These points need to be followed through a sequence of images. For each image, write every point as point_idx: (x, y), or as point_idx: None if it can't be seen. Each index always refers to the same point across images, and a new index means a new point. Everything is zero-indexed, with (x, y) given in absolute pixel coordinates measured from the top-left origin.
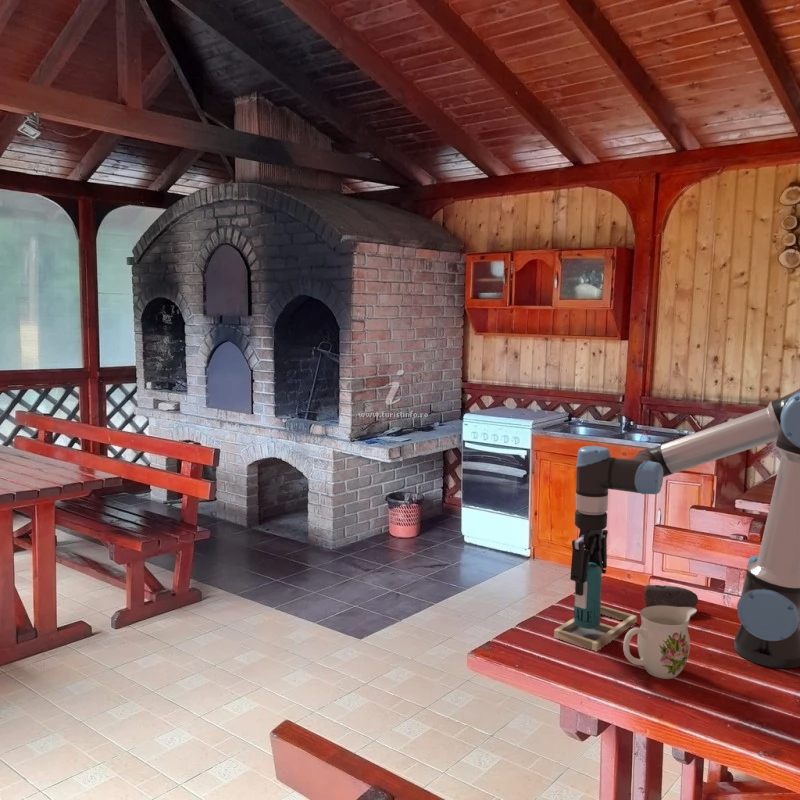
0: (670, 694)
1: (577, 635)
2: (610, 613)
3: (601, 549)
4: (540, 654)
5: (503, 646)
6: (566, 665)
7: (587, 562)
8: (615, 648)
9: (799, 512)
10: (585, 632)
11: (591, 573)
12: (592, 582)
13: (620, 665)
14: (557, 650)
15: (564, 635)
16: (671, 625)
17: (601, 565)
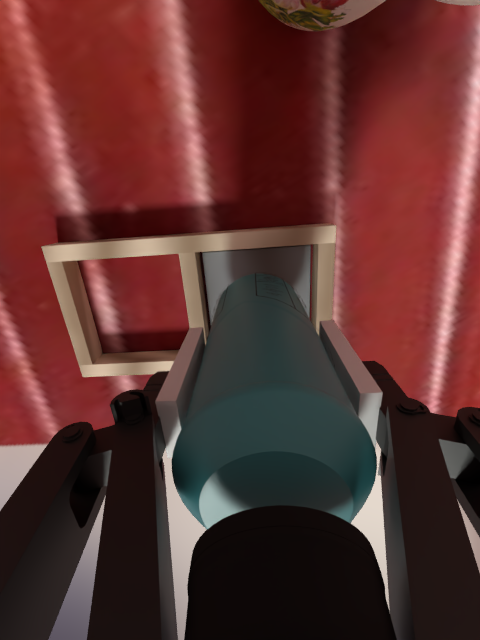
0: None
1: (319, 302)
2: (87, 323)
3: (9, 631)
4: (440, 325)
5: (450, 407)
6: (465, 239)
7: (448, 550)
8: (263, 194)
9: None
10: None
11: (358, 422)
12: (327, 372)
13: (366, 110)
14: (389, 308)
15: None
16: None
17: (132, 451)
